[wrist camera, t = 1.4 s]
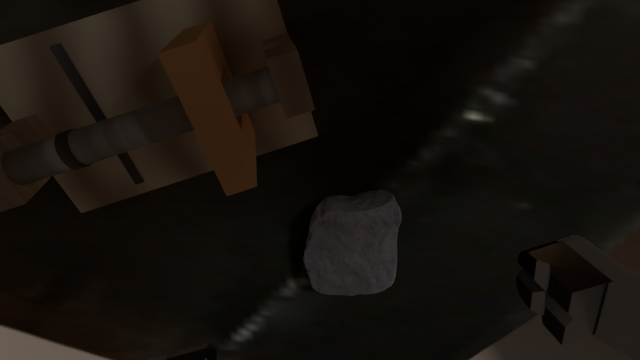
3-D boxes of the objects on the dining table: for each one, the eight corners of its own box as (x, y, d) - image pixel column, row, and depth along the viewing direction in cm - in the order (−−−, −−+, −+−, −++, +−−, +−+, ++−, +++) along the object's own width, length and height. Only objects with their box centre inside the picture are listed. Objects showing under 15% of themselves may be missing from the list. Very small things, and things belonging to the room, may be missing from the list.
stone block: (307, 271, 46) (391, 271, 45) (304, 300, 42) (396, 301, 41) (302, 184, 40) (397, 183, 40) (298, 208, 36) (404, 207, 36)
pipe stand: (264, -40, 28) (270, -43, 21) (315, 129, 35) (333, 172, 28) (-23, 52, 28) (-121, 83, 20) (87, 204, 35) (44, 266, 27)
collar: (210, 20, 27) (195, 41, 19) (255, 132, 31) (257, 186, 24) (183, 29, 27) (157, 53, 19) (231, 140, 31) (226, 196, 24)
